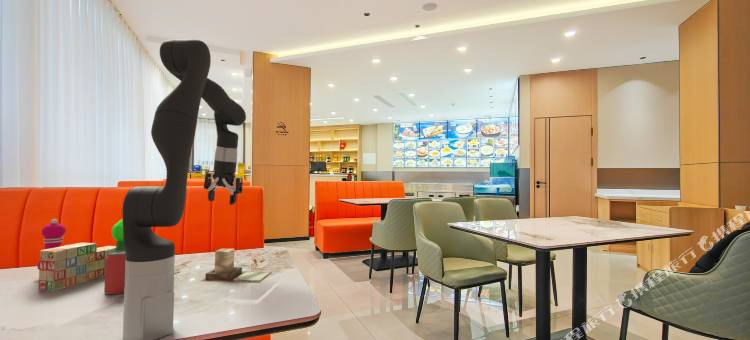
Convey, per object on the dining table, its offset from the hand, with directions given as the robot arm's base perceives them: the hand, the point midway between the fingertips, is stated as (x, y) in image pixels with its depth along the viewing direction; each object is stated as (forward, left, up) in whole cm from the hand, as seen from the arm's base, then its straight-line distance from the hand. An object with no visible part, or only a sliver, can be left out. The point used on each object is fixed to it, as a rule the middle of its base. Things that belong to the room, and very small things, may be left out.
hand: (221, 202), depth 120 cm
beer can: (+7, +29, -26) cm, 39 cm away
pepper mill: (+42, +36, -26) cm, 61 cm away
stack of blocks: (+30, +31, -26) cm, 50 cm away
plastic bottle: (+18, +22, -26) cm, 38 cm away
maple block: (-8, +3, -25) cm, 26 cm away
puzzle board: (-12, +1, -26) cm, 29 cm away
